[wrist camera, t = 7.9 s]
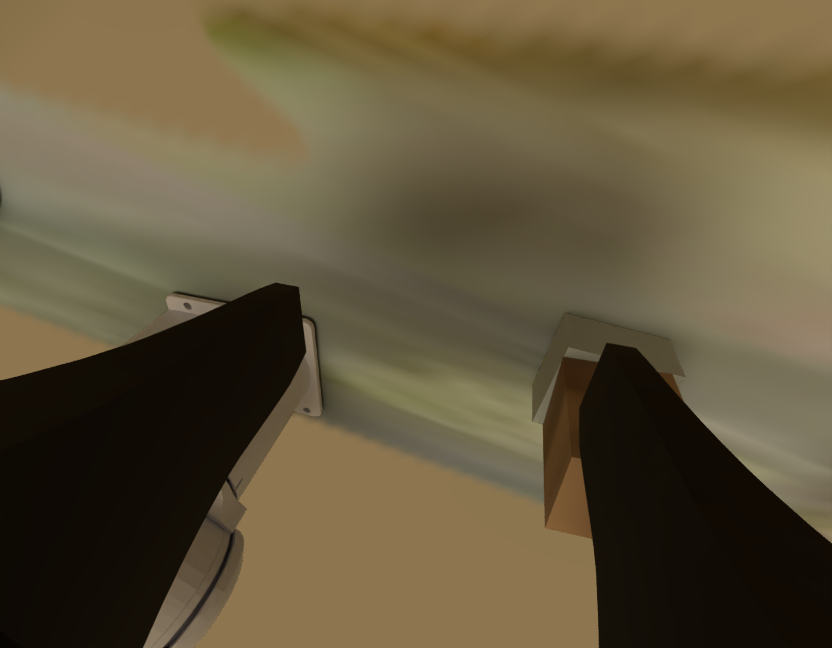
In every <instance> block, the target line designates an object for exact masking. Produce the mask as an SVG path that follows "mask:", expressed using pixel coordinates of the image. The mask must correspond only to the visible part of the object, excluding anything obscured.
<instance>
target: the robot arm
mask: <svg viewBox="0 0 832 648" xmlns="http://www.w3.org/2000/svg"><path fill="white" fill-rule="evenodd" d="M166 303H167V305H168V308H169V310H168V311H167V312H165V313H164V314H163V315H162V316H160V317H159V318H158V319H156V320H155V321H154V322H152V323H151V324H150V325H149V326H147V327H146V328H145V329H143V330H142V331H141V332H139V333H138V334H137V335H136V336H134V337H133V338H132V339H130V340H129V341H128V342H126V343H125V344H124V345H122V346H121V347H118V348H115V349H111V350H108V351H105V352H102V353H99V354H96V355H93V356H90V357H87V358H83V359H80V360H77V361H73V362H70V363H66V364H62V365H58V366H55V367H51V368H47V369H43V370H40V371H36V372H33V373H28V374H25V375H21V376H17V377H13V378H9V379H5V380H0V648H195V647H196V646H197V644H198V643H199V642H200V641H201V640H202V638H203V637H204V636H205V634H206V633H207V632H208V630H209V629H210V628H211V626H212V625H213V623H214V622H215V620H216V619H217V617H218V616H219V614H220V613H221V611H222V609H223V608H224V606H225V604H226V602H227V601H228V599H229V597H230V595H231V593H232V591H233V588H234V586H235V584H236V582H237V579H238V576H239V574H240V570H241V566H242V561H243V549H244V538H243V535H242V534H241V532H240V531H239V530H237V529H236V526H237V525H238V523H239V521H240V520H241V518H242V516H243V515H244V513H245V511H246V510H247V509H246V507H244V506H243V505H242V504H241V503H240V502H239V501H238V500H239V498H240V497H241V495H242V493H243V492H244V490H245V489H246V487H247V485H248V484H249V482H250V481H251V479H252V478H253V476H254V474H255V473H256V471H257V470H258V468H259V466H260V465H261V463H262V462H263V460H264V459H265V457H266V455H267V454H268V452H269V451H270V449H271V447H272V445H273V444H274V443H275V441H276V439H277V438H278V436H279V435H280V433H281V432H282V430H283V428H284V427H285V425H286V424H287V422H288V420H289V419H290V417H291V416H292V414H293V412H297V413H301V414H306V415H310V416H315V417H318V416H320V415H321V413H322V411H323V408H322V398H321V389H320V379H319V369H318V359H317V349H316V340H315V330H314V325H313V323H312V322H311V321H310V320H308V319H305V318H302V311H301V302H300V294H299V287H296V286H291V285H285V284H280V283H274V284H271V285H268V286H265V287H263V288H260V289H258V290H255V291H253V292H251V293H248V294H246V295H244V296H242V297H239V298H237V299H235V300H233V301H231V302H228V303H222V302H217V301H212V300H207V299H201V298H196V297H191V296H186V295H181V294H175V293H172V294H170V295H169V296H167V297H166ZM579 449H580V457H581V464H582V471H583V478H584V485H585V492H586V499H587V506H588V512H589V519H590V526H591V533H592V539H593V546H594V556H595V565H596V580H597V602H598V626H599V627H598V628H599V648H832V543H831V542H829V541H828V540H827V539H826V538H825V537H823V536H822V535H821V534H820V533H819V532H817V531H816V530H815V529H814V528H813V527H811V526H810V525H809V524H808V523H807V522H806V521H804V520H803V519H802V518H801V517H800V516H799V515H798V514H797V513H795V512H794V511H793V510H792V509H791V508H790V507H789V506H788V505H786V504H785V503H784V502H783V501H782V500H781V499H780V498H779V497H777V496H776V495H775V494H774V493H773V492H772V491H771V490H770V489H768V488H767V487H766V486H765V485H764V484H763V483H762V482H761V481H760V480H759V479H758V478H757V477H756V476H755V475H753V474H752V473H751V472H750V471H749V470H748V469H747V468H746V467H745V466H744V465H743V464H742V463H741V462H740V461H739V460H738V459H737V458H736V457H735V456H734V455H733V454H732V453H731V452H730V451H729V450H728V449H727V448H726V447H725V446H724V445H723V444H722V443H721V442H720V441H719V440H718V439H717V437H716V436H715V435H714V434H713V433H712V432H711V431H710V430H709V429H708V428H707V427H706V426H705V425H704V424H703V423H702V422H701V420H700V419H699V418H698V417H697V416H696V415H695V414H694V413H693V412H692V411H691V409H690V408H689V407H688V406H687V405H686V404H685V403H684V402H683V400H682V399H681V398H680V397H679V396H678V395H677V394H676V392H675V391H674V390H673V389H672V388H671V387H670V386H669V384H668V383H667V382H666V381H665V380H664V379H663V377H662V376H661V375H660V374H659V373H658V372H657V371H656V369H655V368H654V367H653V366H652V365H651V364H650V362H649V361H648V360H647V359H646V358H645V357H644V356H643V355H642V354H641V352H640V351H639V350H638V349H637V348H634V347H629V346H623V345H618V344H612V343H607V342H606V345H605V347H604V350H603V352H602V354H601V357H600V359H599V361H598V364H597V366H596V369H595V371H594V373H593V376H592V378H591V381H590V383H589V385H588V388H587V390H586V392H585V395H584V397H583V400H582V402H581V404H580V407H579Z"/></svg>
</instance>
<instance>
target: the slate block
mask: <svg viewBox="0 0 832 648" xmlns="http://www.w3.org/2000/svg"><path fill="white" fill-rule="evenodd" d="M606 342H607V343H612V344H618V345H623V346H629V347H634V348H637V349H638V350H639V351H640V352H641V354H642V355H643V356H644V357H645V358H646V359H647V360H648V361H649V362H650V364H651V365H652V366H653V367H654V368H655V369H656V371H658V372H664V373H670V374H673V377H674V379H675V382H676V384H677V387H679V386H680V385H681V383H682V382H683V381H684V379H685V378H686V377H685V374H684V372H683V370H682V367H681V365H680V363H679V361H678V358H677V356H676V354H675V351H674V349H673V347H672V344H671V342H670V340H669V339H666V338H662V337H658V336H654V335H650V334H646V333H642V332H638V331H634V330H630V329H626V328H623V327H619V326H615V325H611V324H607V323H603V322H599V321H595V320H591V319H587V318H583V317H579V316H575V315H571V314H567V313H565V314H564V316H563V318H562V320H561V323H560V325H559V327H558V329H557V331H556V334H555V336H554V338H553V340H552V343H551V345H550V347H549V349H548V352H547V354H546V356H545V358H544V360H543V363H542V365H541V367H540V369H539V372H538V374H537V376H536V378H535V380H534V383H533V400H532V422H536V423H539V424H543V423H544V419H545V416H546V413H547V409H548V406H549V402H550V399H551V396H552V392H553V389H554V385H555V382H556V379H557V375H558V372H559V368H560V365H561V362H562V358H563V357H569V358H576V359H582V360H588V361H594V362H598V361H599V359H600V357H601V354H602V352H603V350H604V347H605V345H606Z"/></svg>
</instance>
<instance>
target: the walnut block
mask: <svg viewBox="0 0 832 648" xmlns="http://www.w3.org/2000/svg"><path fill="white" fill-rule="evenodd" d="M597 364H598V362H594V361H588V360H582V359H576V358H569V357H563V358H562V362H561V365H560V368H559V372H558V375H557V379H556V382H555V385H554V389H553V392H552V396H551V399H550V402H549V406H548V409H547V413H546V416H545V419H544V423H543V458H544V506H545V528H547V529H551V530H556V531H560V532H564V533H569V534H574V535H578V536H582V537H587V538H591V539H592V533H591V526H590V519H589V512H588V506H587V499H586V492H585V485H584V478H583V471H582V464H581V457H580V449H579V407H580V404H581V402H582V400H583V397H584V395H585V392H586V390H587V388H588V385H589V383H590V381H591V378H592V376H593V373H594V371H595V369H596V366H597ZM657 372H658V371H657ZM658 373H659V374H660V375H661V376H662V377H663V379H664V380H665V381H666V382H667V383H668V384H669V386H670V387H671V388H672V389H673V390H674V391H675V392H676V394H677V395H678V396H679V397H680V398H681V399H682V397H681V394H680V392H679V389H678V387H677V384H676V382H675V379H674V377H673V374H670V373H664V372H658ZM682 400H683V399H682ZM683 402H684V401H683Z"/></svg>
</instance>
